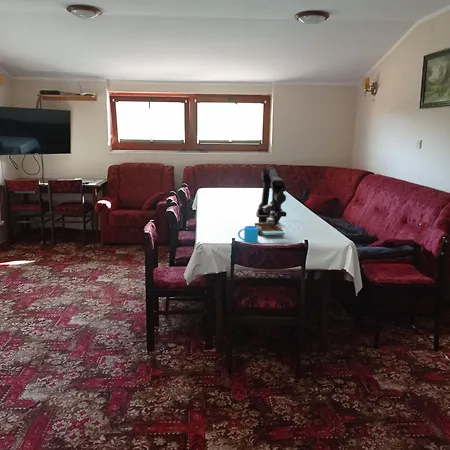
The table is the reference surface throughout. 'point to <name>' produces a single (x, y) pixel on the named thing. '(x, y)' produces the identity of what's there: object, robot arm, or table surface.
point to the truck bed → (267, 227)
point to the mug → (250, 234)
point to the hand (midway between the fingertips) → (275, 225)
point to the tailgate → (272, 232)
